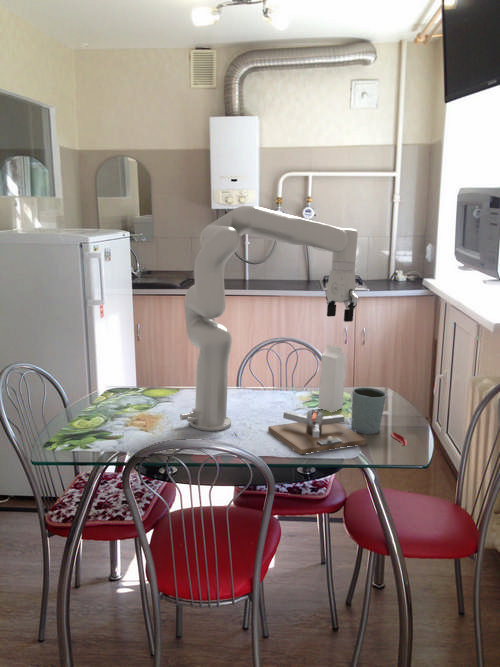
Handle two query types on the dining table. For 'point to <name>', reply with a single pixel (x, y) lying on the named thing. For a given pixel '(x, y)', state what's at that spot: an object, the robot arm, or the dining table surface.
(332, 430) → the board
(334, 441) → the level window
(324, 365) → the milk
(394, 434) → the cayenne pepper
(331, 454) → the dining table surface
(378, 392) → the grey-green cup
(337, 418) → the capstan
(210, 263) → the robot arm
